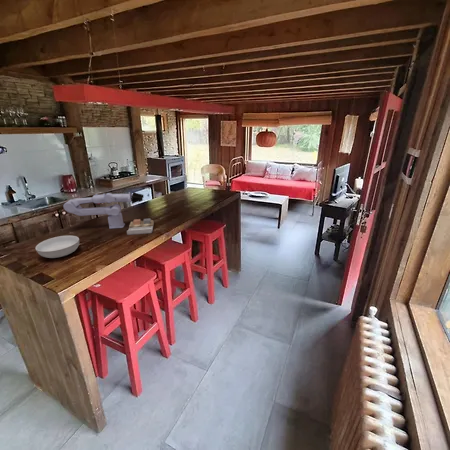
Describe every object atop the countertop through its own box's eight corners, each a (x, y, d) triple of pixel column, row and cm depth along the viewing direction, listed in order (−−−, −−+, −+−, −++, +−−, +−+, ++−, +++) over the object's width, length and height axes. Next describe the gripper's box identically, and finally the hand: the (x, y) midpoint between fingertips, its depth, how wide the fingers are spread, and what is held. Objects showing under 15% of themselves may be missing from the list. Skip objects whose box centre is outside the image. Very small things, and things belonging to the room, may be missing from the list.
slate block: (143, 224, 181) (143, 220, 180) (144, 222, 185) (144, 218, 184) (150, 223, 182) (149, 220, 181) (150, 221, 186) (150, 218, 185)
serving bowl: (35, 253, 144) (31, 242, 142) (75, 242, 158) (73, 232, 155) (43, 266, 130) (39, 254, 128) (86, 253, 144) (84, 242, 141)
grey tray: (127, 234, 169) (126, 230, 168) (129, 230, 177) (128, 226, 176) (152, 233, 172) (151, 228, 171) (152, 228, 180) (152, 224, 179)
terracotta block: (133, 224, 180) (133, 221, 179) (134, 222, 184) (134, 219, 183) (140, 224, 180) (139, 221, 180) (140, 222, 185) (140, 219, 184)
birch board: (129, 229, 177) (129, 226, 177) (131, 224, 187) (131, 221, 186) (153, 228, 180) (152, 224, 179) (153, 223, 190) (153, 220, 189)
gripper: (120, 194, 170) (141, 194, 173) (123, 189, 183) (143, 189, 186) (121, 204, 172) (142, 204, 175) (124, 199, 186) (144, 199, 189)
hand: (143, 197), depth 181 cm, fingers open, 7 cm apart
